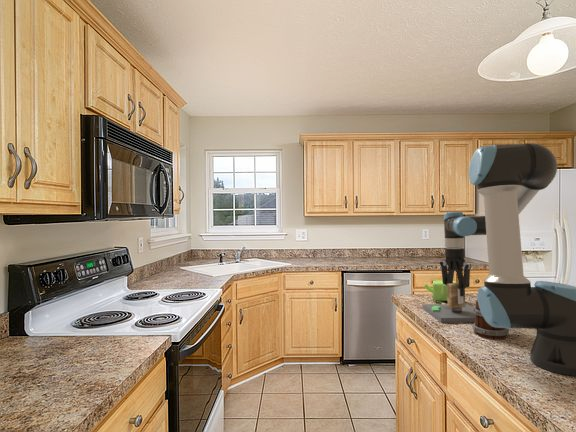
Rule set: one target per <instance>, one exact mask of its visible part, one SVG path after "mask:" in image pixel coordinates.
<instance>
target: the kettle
mask: <svg viewBox="0 0 576 432" xmlns="http://www.w3.org/2000/svg"><path fill="white" fill-rule="evenodd" d="M453 283H457V281H456V280H453ZM423 288H424V289H426V290H427V291H429V292H431V294H432V300H433V301H436V304H441V303H443V302H447V285H445V284H443V280H442V279H441V280H439V279H438V280H435V279H434V280H432V287H431V286H430V285H428V284H427V283H426V284H425V285H424V286H423Z"/></svg>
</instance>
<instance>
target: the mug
mask: <svg viewBox="0 0 576 432" xmlns="http://www.w3.org/2000/svg"><path fill="white" fill-rule="evenodd" d="M473 311H474V314H475V323H472V324H471V327H472V330H473V332H474V334H475V335H477V336H479V337H481V338H484V339H485V338H486V339H490V340H493V339H495V340H503V339H504V340H505V338H506V339H507V337H508V335H509V333H510V329H506V328H496V327H492V326H491V325H489V324H488V323H487V322H486V321H485V319H484V317H483V316H482V314H481V311H480V308H479V305H478V299H476V300H475V307H474V309H473Z"/></svg>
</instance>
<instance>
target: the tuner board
mask: <svg viewBox="0 0 576 432" xmlns="http://www.w3.org/2000/svg"><path fill="white" fill-rule="evenodd" d="M474 308H475V307H474V306H473V305H470V304H468V303H465V307H462V312H460V313H456V312H452V310H451V308H449V307H448V306H445V305H442V304H441V303H423V304H422V309H423V310H424V311H425V312H427V313H428V314H429V315H430V316H432V317H433V318H434V319H435V320H437V321H438V322H439V323H441V324H456V323H458V324H460V323H463V324H465V323H466V324H467V323H470V324H471V323H472V324H474V323H475V314H474V311H473V309H474Z"/></svg>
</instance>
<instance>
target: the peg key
mask: <svg viewBox="0 0 576 432" xmlns="http://www.w3.org/2000/svg"><path fill="white" fill-rule="evenodd" d="M458 288H459V283H458V282H456V283H449V284H447V301H446V302H447V303H445V302H441V303H440V304H442V305H445V306H448V307H449V308H451V310H452V312H456V313H460V312H462V307H465V304H466V295H465V296H463V302H464V303H463V304H458Z"/></svg>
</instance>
